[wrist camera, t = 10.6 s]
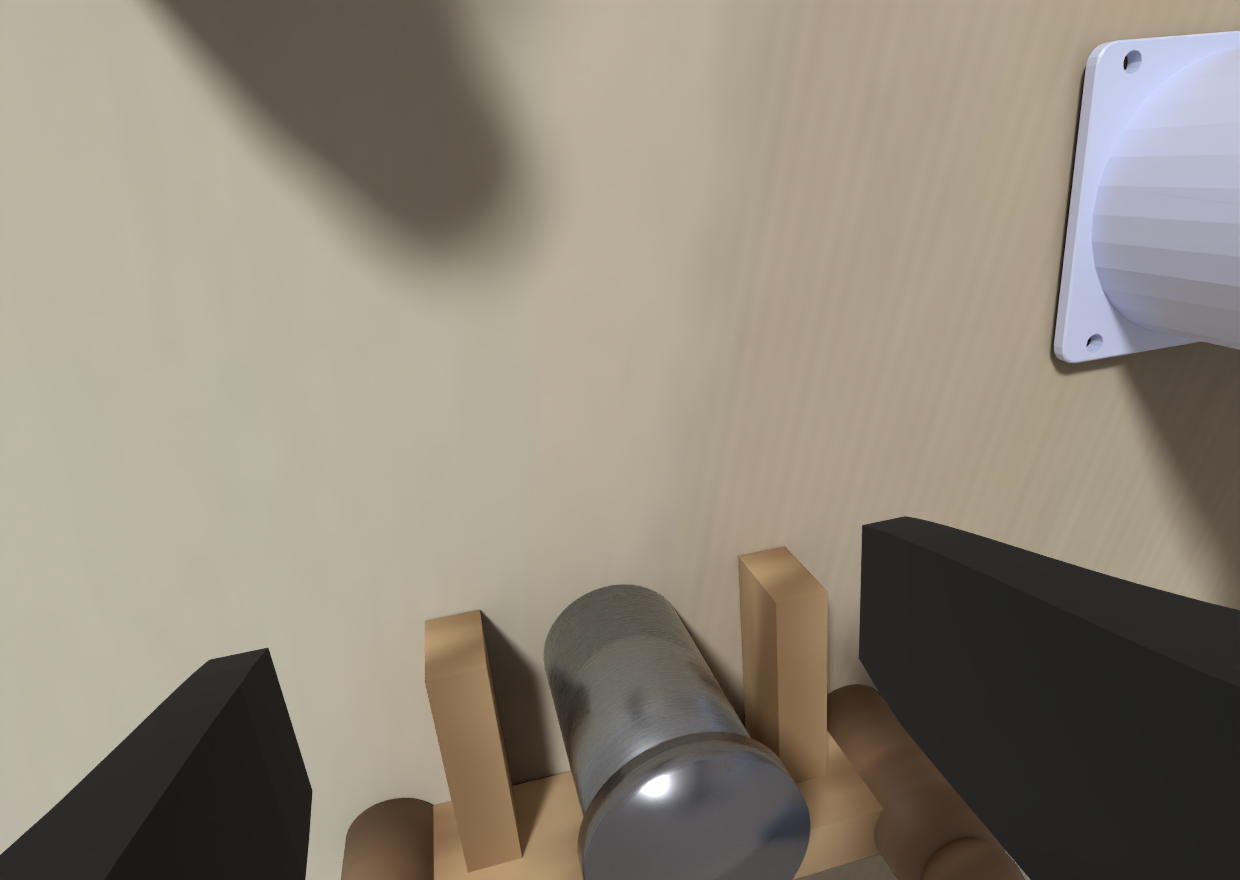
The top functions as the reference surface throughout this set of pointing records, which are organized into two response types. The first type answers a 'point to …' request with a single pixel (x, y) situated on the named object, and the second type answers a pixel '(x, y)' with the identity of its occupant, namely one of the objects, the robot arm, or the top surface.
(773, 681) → the wooden rack
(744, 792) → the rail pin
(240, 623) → the top surface
